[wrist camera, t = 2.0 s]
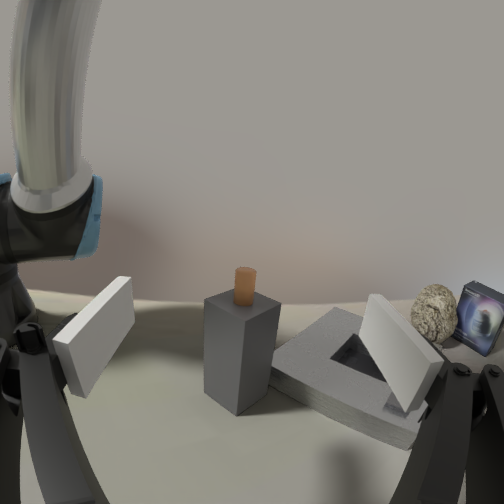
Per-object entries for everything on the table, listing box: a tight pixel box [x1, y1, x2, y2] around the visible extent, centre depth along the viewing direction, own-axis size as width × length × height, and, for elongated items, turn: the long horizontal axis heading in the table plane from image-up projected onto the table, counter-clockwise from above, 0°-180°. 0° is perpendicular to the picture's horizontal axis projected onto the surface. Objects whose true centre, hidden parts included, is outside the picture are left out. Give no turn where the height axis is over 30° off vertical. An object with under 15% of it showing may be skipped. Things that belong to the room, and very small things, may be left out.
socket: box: [268, 307, 443, 451], centre depth 33 cm, size 20×20×4 cm
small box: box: [451, 281, 504, 357], centre depth 38 cm, size 11×6×10 cm, turn 24°
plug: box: [204, 267, 281, 416], centre depth 27 cm, size 5×5×15 cm
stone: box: [411, 284, 458, 344], centre depth 40 cm, size 6×10×10 cm, turn 4°
